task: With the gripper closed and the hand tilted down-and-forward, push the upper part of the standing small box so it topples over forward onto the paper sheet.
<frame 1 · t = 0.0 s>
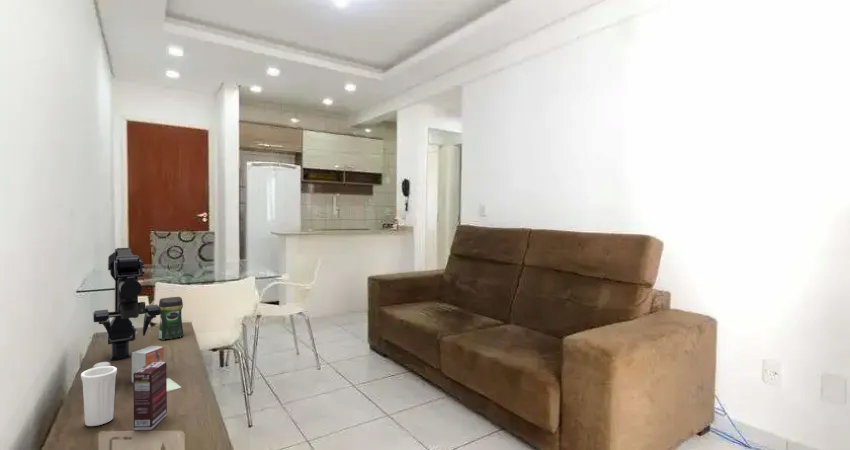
hand: (127, 337, 147), 15 cm above the table, tool pointing down, fingers open, 9 cm apart
cup: (99, 422, 119), on the table
coffee jar: (170, 338, 195), on the table
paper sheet: (158, 387, 141), on the table
small box: (147, 379, 148), on the table
supplement box: (150, 423, 119), on the table
salt shaker: (101, 406, 128), on the table
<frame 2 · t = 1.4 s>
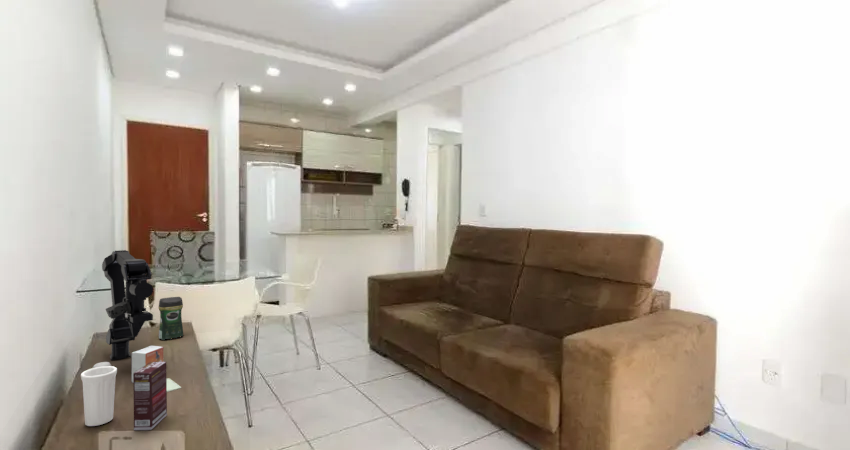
hand: (134, 336, 157), 12 cm above the table, tool pointing down, fingers closed
nothing on the table moved.
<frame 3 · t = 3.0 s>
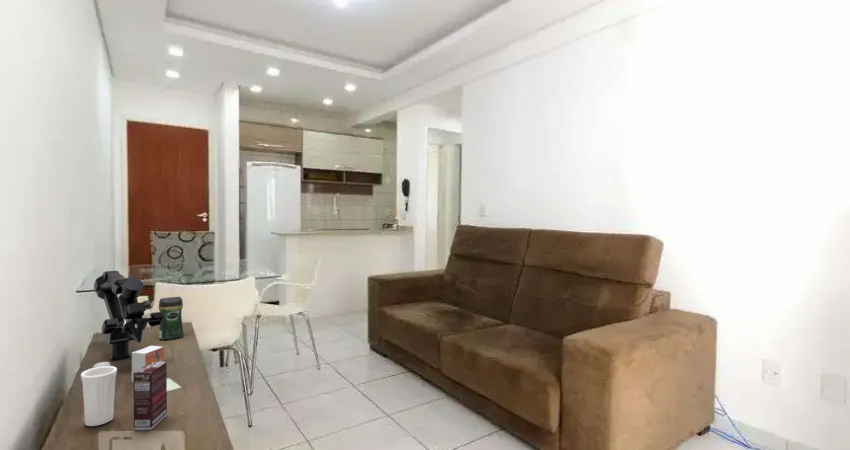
hand: (139, 342, 154), 11 cm above the table, tool tilted 45°, fingers closed
nothing on the table moved.
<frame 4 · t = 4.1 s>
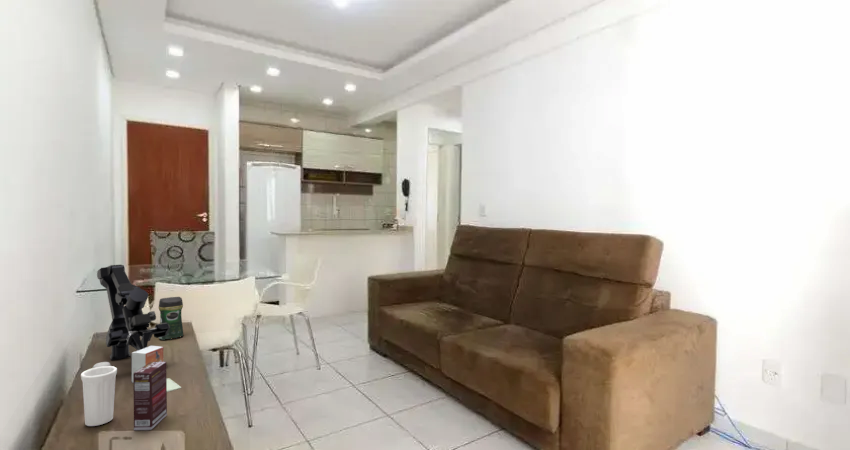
hand: (144, 354, 150), 8 cm above the table, tool tilted 45°, fingers closed
small box: (147, 379, 148), on the table, touching gripper
everything else where it was.
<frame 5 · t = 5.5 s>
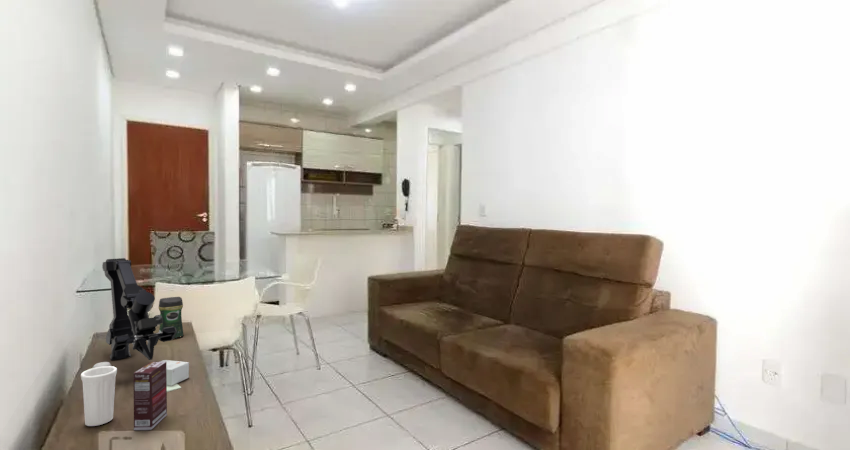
hand: (150, 359, 146), 8 cm above the table, tool tilted 45°, fingers closed
small box: (154, 370, 148), point 3 cm above the table, touching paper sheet
everything else where it was.
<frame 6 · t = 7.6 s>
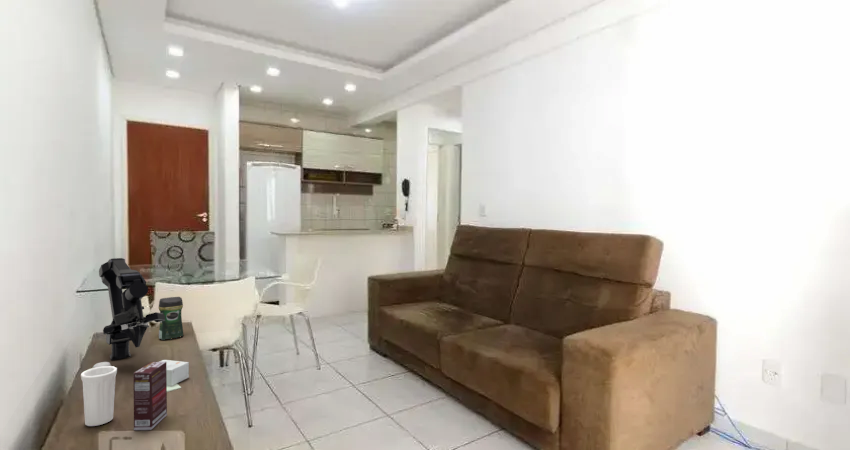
hand: (137, 347, 153), 9 cm above the table, tool tilted 25°, fingers closed
nothing on the table moved.
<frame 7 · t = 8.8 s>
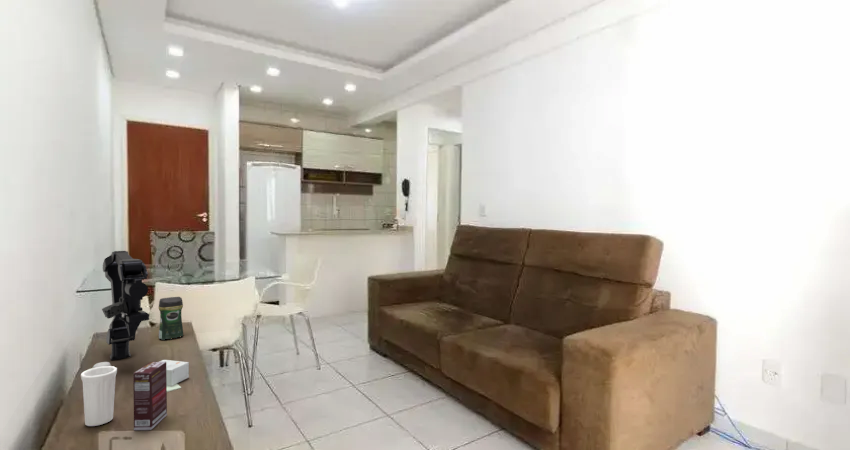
hand: (131, 336, 157), 12 cm above the table, tool pointing down, fingers closed
nothing on the table moved.
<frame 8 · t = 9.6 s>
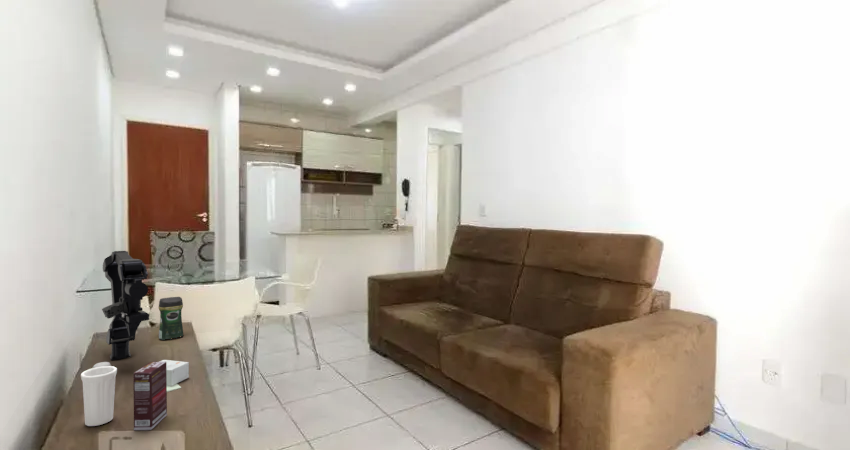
hand: (131, 336, 157), 12 cm above the table, tool pointing down, fingers closed
nothing on the table moved.
at the end: small box tilted 90°; small box moved 3.9 cm from its start; small box inside the target area (8.7 cm from its centre), point 3.1 cm above the table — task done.
